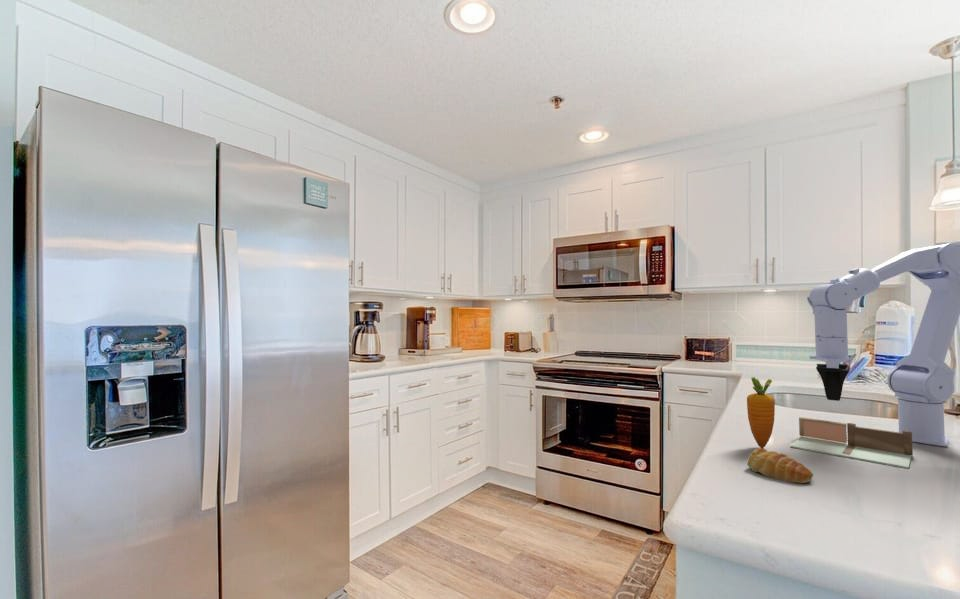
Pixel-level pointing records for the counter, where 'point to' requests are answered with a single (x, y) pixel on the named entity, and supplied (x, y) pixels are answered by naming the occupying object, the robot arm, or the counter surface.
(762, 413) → the carrot
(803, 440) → the card
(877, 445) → the fence fixed
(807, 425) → the hinged panel
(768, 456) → the pastry
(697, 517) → the counter surface
